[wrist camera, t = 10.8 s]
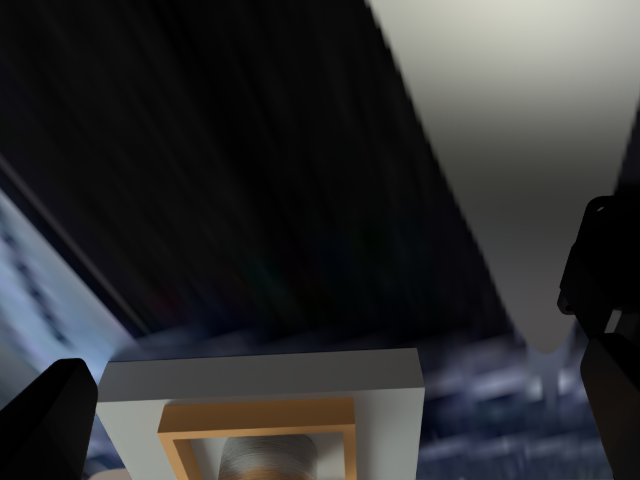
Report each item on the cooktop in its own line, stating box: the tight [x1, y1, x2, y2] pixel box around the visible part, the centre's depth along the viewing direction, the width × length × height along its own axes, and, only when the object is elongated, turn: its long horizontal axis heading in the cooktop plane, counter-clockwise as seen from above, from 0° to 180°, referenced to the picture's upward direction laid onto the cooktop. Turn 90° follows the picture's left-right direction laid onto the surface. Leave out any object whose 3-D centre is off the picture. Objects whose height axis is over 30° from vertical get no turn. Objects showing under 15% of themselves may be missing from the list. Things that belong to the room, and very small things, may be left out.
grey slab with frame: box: [96, 348, 425, 480], centre depth 29 cm, size 16×10×4 cm, turn 93°
